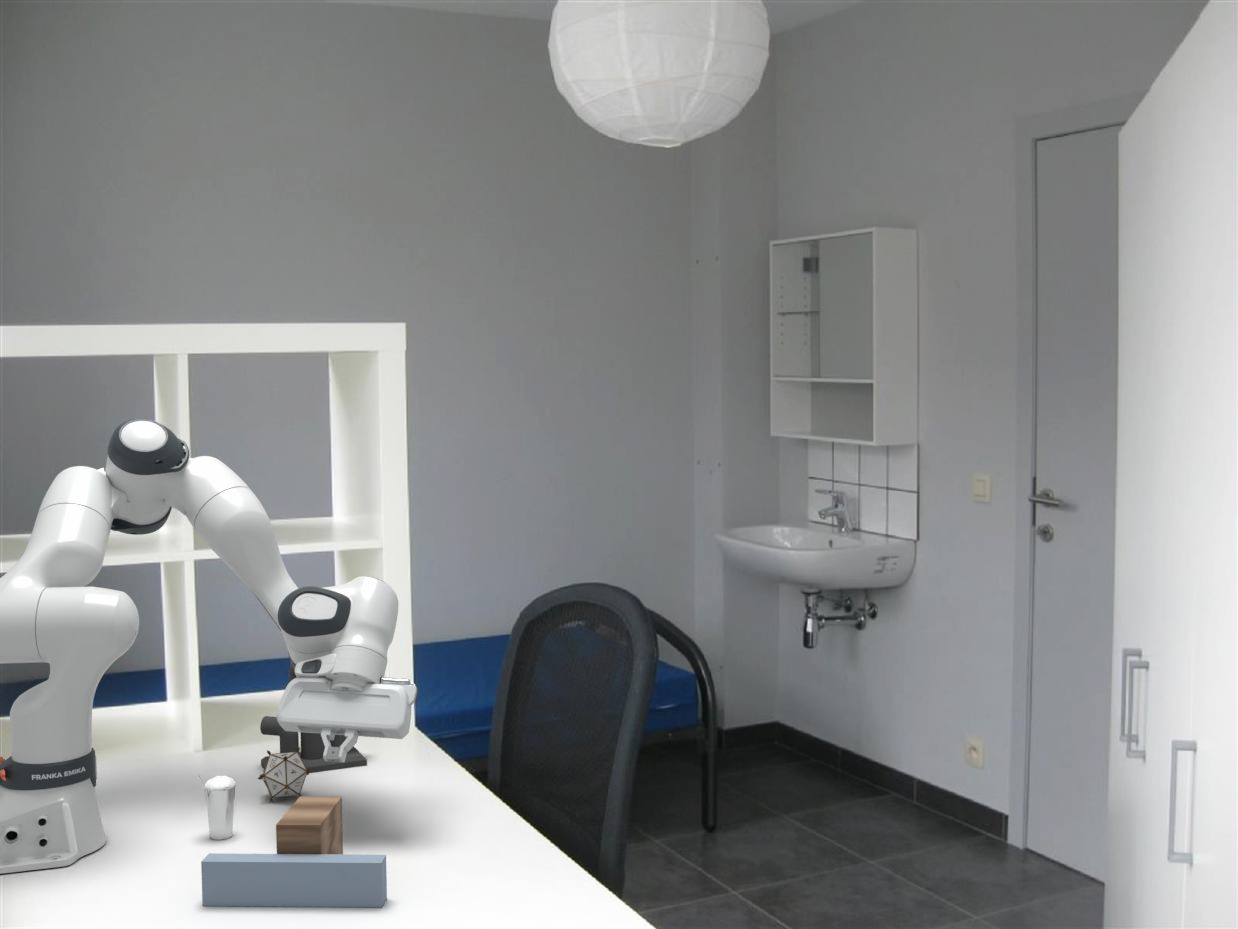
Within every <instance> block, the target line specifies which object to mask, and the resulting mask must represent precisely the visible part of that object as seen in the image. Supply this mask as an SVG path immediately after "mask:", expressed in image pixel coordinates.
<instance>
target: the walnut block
mask: <svg viewBox="0 0 1238 929" xmlns="http://www.w3.org/2000/svg"><path fill="white" fill-rule="evenodd" d="M275 832H276V833H275V835H276V836H275V837H276V838H275V840H276V842H275V843H276V854H344V840H343V839H344V838H343V796H337V795H336V796H335V795H334V796H333V795H332V796H331V795H330V796H323V795H322V796H320V795H319V796H318V795H317V796H316V795H313V796H311V795H309V796H308V795H305V796H304V795H302V796H300V797H299V796H298V798H297V799H296V801H295V802H294V803H293V804H292V805H291V807H290V808H288V810H287V811H286V813H285V814H284V815H283V816H282V817H281V819H280V820H278V822H277V823H276V824H275Z"/></svg>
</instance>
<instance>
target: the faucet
mask: <svg viewBox="0 0 1238 929" xmlns="http://www.w3.org/2000/svg"><path fill="white" fill-rule="evenodd" d="M295 678H297V677H296V675H295V670H294V668H293V666H292V664H291V662H290V664H289V669H288V684H289V683H290V682H291V681H292V680H293V679H295ZM259 728H260V729H259V730H260V733H261V735H265V736H277V737H279V753H287V752H296V750H297V748H299V746H300V751H299V752H298V754H299V756H300V758H301V759H302V761H303V763H304V765H305V767H306V769H307V770H308V769H309V770H312V771H311V772H309V774H314V773H320V772H321V773H322V772H328V771H336V770H342V769H343V770H344V769H350V768H352V769H353V768H359V767H365V766H368V759H367V758H366V757H365V756H364V755H363V754H362V753H361V751H360V750H358V749H357V748H356V747H355V745H354V746H353V747H352V748H351V749H350V750H349V751H348V752H347V754H346V758H345V762H331V761H325V760H324V759H323V753H324V749H325V746H324V743H323V740H322V737H321V733H306V732H300V736H299V732H292V731H285V730H284V729H283V728H282V727H281V726H280V724H279V723H278V721H277V717H276V716H270V715H269V716H268V715H267V716H266V715H265V716H264V717H263V718H262V719H261V722H260V726H259ZM299 737H300V742H299ZM346 739H347V738H346V737H345V735H335V737H334V740H333V741H332V740H330V743H331V746H332V747H340V746H341V745H342V744H343V742H344V741H345V740H346ZM299 744H300V745H299ZM268 758H269V755H267V756H264V757H263V758H262V759H260V766H261V768H262V769H263V771H264V770H265V767H266V764H267V761H268Z"/></svg>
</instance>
